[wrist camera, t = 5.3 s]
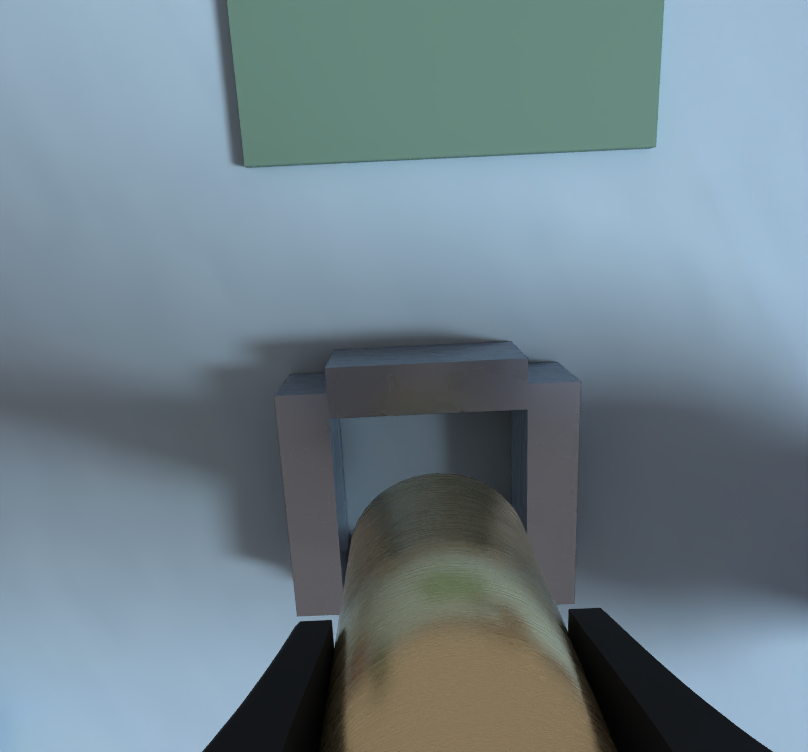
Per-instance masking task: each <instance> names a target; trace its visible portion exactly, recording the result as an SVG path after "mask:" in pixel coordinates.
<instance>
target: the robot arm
mask: <svg viewBox="0 0 808 752" xmlns="http://www.w3.org/2000/svg"><path fill="white" fill-rule="evenodd" d="M568 634H569V636H570V639H571V641H572V643H573V646H574V648H575V651H576V653H577V655H578V658H579V660H580V662H581V665H582V667H583V670H584V672H585V674H586V677H587V679H588V682H589V684H590V686H591V689H592V691H593V694H594V696H595V698H596V701H597V703H598V705H599V708H600V710H601V713H602V715H603V717H604V720H605V722H606V725H607V727H608V729H609V732H610V734H611V737H612V739H613V741H614V744H615V746H616V748H617V751H618V752H772V751H771V750H770V749H768V748H767V747H765V746H764V745H762V744H761V743H759V742H758V741H757V740H755V739H754V738H752V737H751V736H750V735H748V734H747V733H746V732H744V731H743V730H742V729H740V728H739V727H738V726H736V725H735V724H734V723H732V722H731V721H730V720H729V719H727V718H726V717H725V716H723V715H722V714H721V713H720V712H718V711H717V710H716V709H715V708H713V707H712V706H711V705H709V704H708V703H707V702H706V701H704V700H703V699H702V698H701V697H699V696H698V695H697V694H696V693H695V692H693V691H692V690H691V689H690V688H689V687H687V686H686V685H685V684H684V683H683V682H682V681H680V680H679V679H678V678H677V677H676V676H675V675H673V674H672V673H671V672H670V671H669V670H668V669H667V668H665V667H664V666H663V665H662V664H661V663H660V662H659V661H657V660H656V659H655V658H654V657H653V656H652V655H651V654H650V653H649V652H648V651H646V650H645V649H644V648H643V647H642V646H641V645H640V644H639V643H638V642H637V641H636V640H635V639H633V638H632V637H631V636H630V635H629V634H628V633H627V632H626V631H625V630H624V629H623V628H622V627H621V626H620V625H618V624H617V623H616V622H615V621H614V620H613V619H612V618H611V617H610V616H609V615H608V614H607V613H606V612H604V611H603V610H602V609H601V608H586V609H569V617H568ZM333 655H334V641H333V630H332V620H321V621H300V622H299V623H298V624H297V625H296V626H295V628H294V629H293V631H292V632H291V634H290V636H289V637H288V639H287V640H286V642H285V643H284V645H283V646H282V648H281V649H280V651H279V652H278V654H277V655H276V657H275V658H274V660H273V661H272V663H271V664H270V666H269V667H268V668H267V670H266V671H265V673H264V674H263V676H262V677H261V678H260V680H259V681H258V682H257V684H256V685H255V686H254V688H253V689H252V691H251V692H250V693H249V695H248V696H247V697H246V699H245V700H244V701H243V703H242V704H241V705H240V707H239V708H238V709H237V710H236V712H235V713H234V714H233V715H232V717H231V718H230V719H229V720H228V721H227V723H226V724H225V725H224V726H223V728H222V729H221V730H220V731H219V732H218V734H217V735H216V736H215V737H214V739H213V740H212V741H211V742H210V743H209V745H208V746H207V747H206V748H205V749H204V750H203V751H202V752H319V746H320V739H321V733H322V726H323V720H324V713H325V707H326V700H327V694H328V687H329V681H330V674H331V668H332V661H333Z"/></svg>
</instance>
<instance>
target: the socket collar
mask: <svg viewBox="0 0 808 752" xmlns="http://www.w3.org/2000/svg"><path fill="white" fill-rule="evenodd" d="M580 391H581V381H579V380H578V379H577V378H576V377H575V376H574V375H572V374H571V373H570V372H569V371H568V370H566V369H565V368H564V367H563V366H562V365H560V364H559V363H558V362H548V363H528V358H527V357H526V356H525V355H524V354H523V353H522V352H521V351H520V350H519V349H518V348H517V347H516V346H515V345H514V344H513V343H512V342H490V343H469V344H448V345H427V346H406V347H385V348H364V349H342V350H334V351H333V353H332V355H331V357H330V359H329V361H328V363H327V365H326V366H325V373H315V374H293V375H289V377H288V378H287V379H286V381H285V382H284V383H283V385H282V386H281V387H280V389H279V390H278V391H277V393H276V394H275V395H274V400H275V410H276V420H277V429H278V439H279V448H280V458H281V467H282V477H283V486H284V496H285V505H286V515H287V525H288V534H289V544H290V553H291V563H292V572H293V582H294V591H295V601H296V610H297V616H318V615H339V614H340V609H341V602H342V596H343V589H344V583H345V576H346V570H347V563H348V557H349V550H350V548H349V535H348V522H347V509H346V496H345V483H344V470H343V457H342V444H341V431H340V418H355V417H376V416H397V415H418V414H440V413H461V412H482V411H503V410H511V506H512V507H513V508H514V510H515V511H516V513H517V514H518V516H519V518H520V520H521V522H522V524H523V526H524V529H525V531H526V533H527V536H528V538H529V541H530V543H531V545H532V548H533V550H534V553H535V555H536V557H537V560H538V562H539V565H540V567H541V569H542V572H543V574H544V576H545V579H546V581H547V584H548V586H549V588H550V591H551V593H552V596H553V598H554V600H555V603H556V604H574V599H575V564H576V530H577V495H578V460H579V426H580Z"/></svg>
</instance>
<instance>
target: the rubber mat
mask: <svg viewBox="0 0 808 752" xmlns="http://www.w3.org/2000/svg"><path fill="white" fill-rule="evenodd" d="M227 7H228V16H229V26H230V35H231V45H232V54H233V63H234V73H235V82H236V91H237V101H238V110H239V119H240V129H241V138H242V147H243V157H244V166H245V167H247V168H252V167H273V166H294V165H315V164H336V163H357V162H377V161H398V160H419V159H440V158H461V157H482V156H503V155H524V154H544V153H565V152H586V151H607V150H628V149H649V148H653V147H656V138H657V120H658V102H659V84H660V66H661V48H662V31H663V13H664V0H227Z"/></svg>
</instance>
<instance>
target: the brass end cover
mask: <svg viewBox="0 0 808 752" xmlns="http://www.w3.org/2000/svg"><path fill="white" fill-rule="evenodd" d="M319 752H618V751H617V748H616V746H615V744H614V741H613V739H612V737H611V734H610V732H609V729H608V727H607V725H606V722H605V720H604V717H603V715H602V713H601V710H600V708H599V705H598V703H597V701H596V698H595V696H594V694H593V691H592V689H591V686H590V684H589V682H588V679H587V677H586V674H585V672H584V670H583V667H582V665H581V662H580V660H579V658H578V655H577V653H576V651H575V648H574V646H573V643H572V641H571V639H570V636H569V634H568V631H567V629H566V627H565V624H564V622H563V619H562V617H561V615H560V612H559V610H558V608H557V605H556V603H555V600H554V598H553V596H552V593H551V591H550V588H549V586H548V584H547V581H546V579H545V576H544V574H543V572H542V569H541V567H540V565H539V562H538V560H537V557H536V555H535V553H534V550H533V548H532V545H531V543H530V541H529V538H528V536H527V533H526V531H525V529H524V526H523V524H522V522H521V520H520V518H519V516H518V514H517V513H516V511H515V510H514V508H513V507H512V506H511V504H510V503H509V502H508V501H507V500H506V499H505V498H504V497H503V496H502V495H500V494H499V493H498V492H497V491H495V490H494V489H492V488H491V487H489V486H487V485H486V484H484V483H482V482H479V481H477V480H474V479H472V478H468V477H465V476H461V475H454V474H440V473H436V474H426V475H421V476H416V477H412V478H410V479H407V480H404V481H401V482H399V483H397V484H395V485H393V486H391V487H390V488H388V489H387V490H385V491H384V492H382V493H381V494H380V495H379V496H378V497H376V498H375V499H374V500H373V501H372V502H371V503H370V504H369V506H368V507H367V508H366V509H365V510H364V512H363V513H362V515H361V517H360V518H359V520H358V522H357V524H356V526H355V528H354V532H353V535H352V538H351V544H350V550H349V557H348V563H347V570H346V576H345V583H344V589H343V596H342V602H341V609H340V616H339V622H338V629H337V635H336V642H335V648H334V655H333V661H332V668H331V674H330V681H329V687H328V694H327V700H326V707H325V713H324V720H323V726H322V733H321V739H320V746H319Z"/></svg>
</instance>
